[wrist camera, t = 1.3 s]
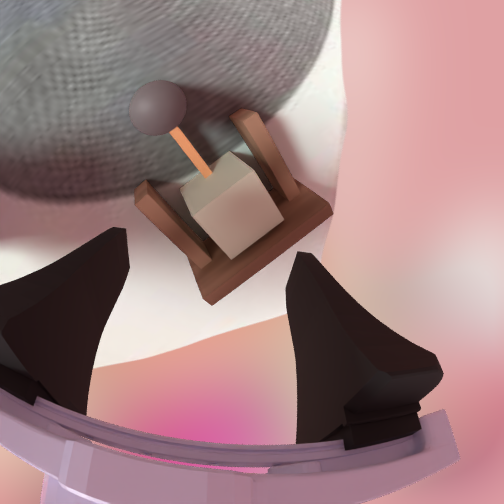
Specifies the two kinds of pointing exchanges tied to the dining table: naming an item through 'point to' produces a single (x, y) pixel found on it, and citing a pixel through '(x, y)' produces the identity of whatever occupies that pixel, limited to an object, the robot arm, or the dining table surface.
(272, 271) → the dining table surface
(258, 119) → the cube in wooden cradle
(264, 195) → the multicoloured piece
